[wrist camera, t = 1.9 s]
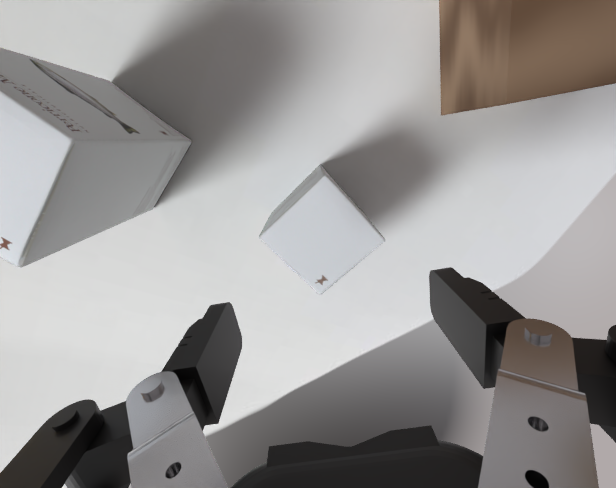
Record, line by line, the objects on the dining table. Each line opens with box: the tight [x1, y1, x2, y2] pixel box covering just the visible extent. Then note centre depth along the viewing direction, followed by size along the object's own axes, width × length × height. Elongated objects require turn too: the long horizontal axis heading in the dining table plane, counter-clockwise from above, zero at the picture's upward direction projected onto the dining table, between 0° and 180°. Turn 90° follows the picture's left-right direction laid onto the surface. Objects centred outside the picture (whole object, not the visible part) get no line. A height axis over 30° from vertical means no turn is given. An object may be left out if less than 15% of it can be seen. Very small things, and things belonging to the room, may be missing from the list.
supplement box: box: [0, 48, 191, 267], centre depth 17 cm, size 7×7×13 cm
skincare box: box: [259, 165, 385, 294], centre depth 22 cm, size 6×6×7 cm
